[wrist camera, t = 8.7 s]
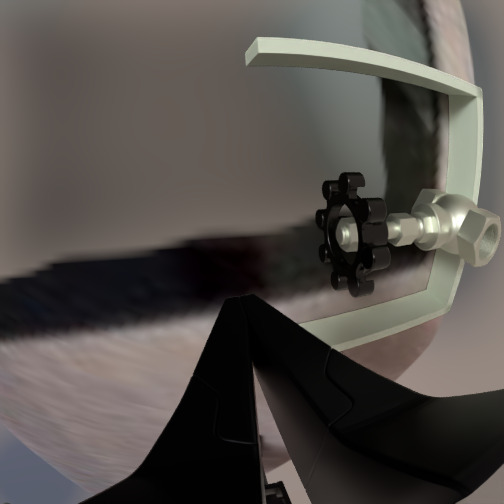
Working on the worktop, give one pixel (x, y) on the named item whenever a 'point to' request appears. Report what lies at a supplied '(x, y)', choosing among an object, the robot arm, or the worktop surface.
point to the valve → (398, 230)
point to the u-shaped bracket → (458, 182)
